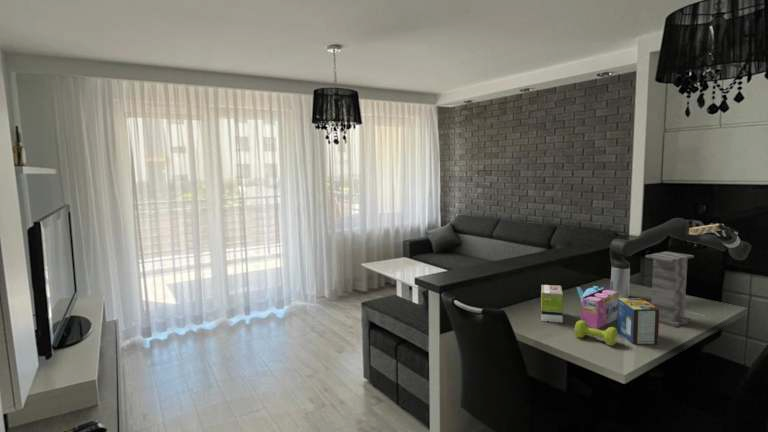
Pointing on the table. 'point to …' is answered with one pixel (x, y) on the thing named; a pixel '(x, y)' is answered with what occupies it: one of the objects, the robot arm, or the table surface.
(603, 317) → the gum box
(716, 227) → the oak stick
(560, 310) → the tea box
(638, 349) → the table surface
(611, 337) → the dumbbell
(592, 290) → the teapot
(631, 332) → the protein box
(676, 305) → the pedestal shelf
